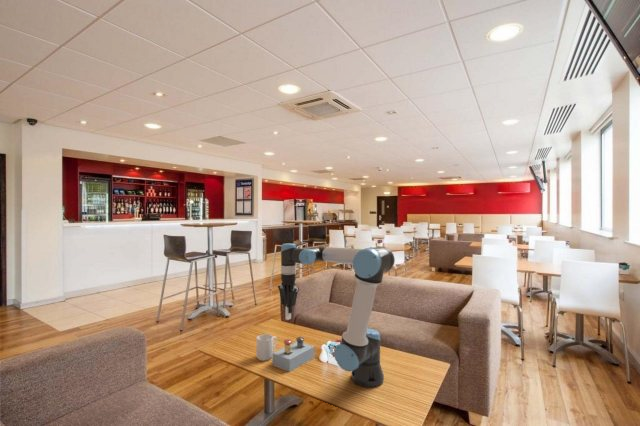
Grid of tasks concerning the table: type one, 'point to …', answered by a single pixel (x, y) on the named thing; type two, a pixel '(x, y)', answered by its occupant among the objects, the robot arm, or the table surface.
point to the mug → (265, 346)
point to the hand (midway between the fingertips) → (288, 318)
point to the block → (293, 357)
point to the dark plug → (300, 342)
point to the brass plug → (287, 346)
